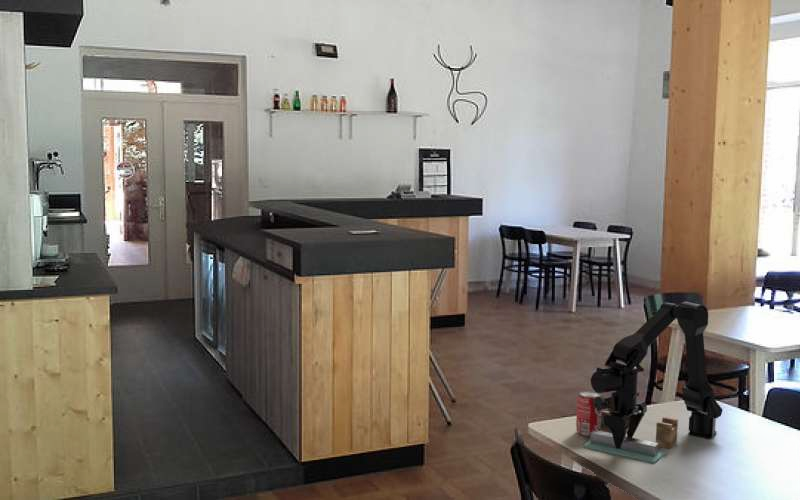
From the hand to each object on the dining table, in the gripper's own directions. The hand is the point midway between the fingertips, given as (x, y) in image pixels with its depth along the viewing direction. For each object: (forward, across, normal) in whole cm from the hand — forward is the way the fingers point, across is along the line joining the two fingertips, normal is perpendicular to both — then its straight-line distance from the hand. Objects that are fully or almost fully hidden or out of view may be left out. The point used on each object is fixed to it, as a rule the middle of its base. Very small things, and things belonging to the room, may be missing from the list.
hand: (623, 443), depth 221 cm
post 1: (+2, -12, -8) cm, 15 cm away
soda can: (+2, -7, -13) cm, 15 cm away
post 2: (+2, -12, +8) cm, 15 cm away
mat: (+2, 0, 0) cm, 2 cm away
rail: (+1, 0, 0) cm, 1 cm away
